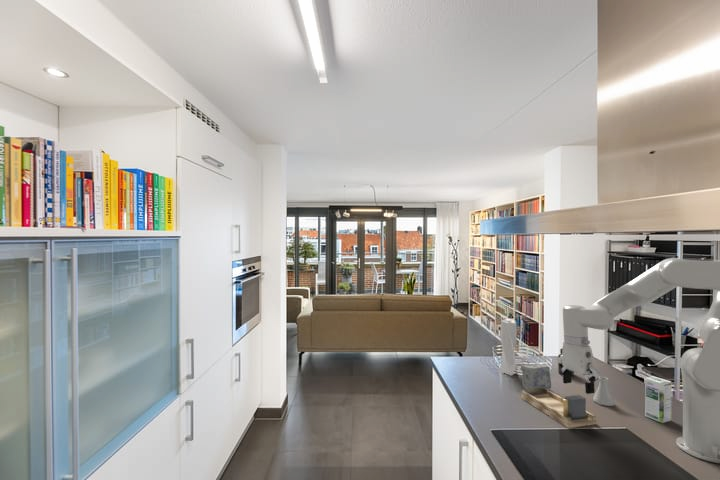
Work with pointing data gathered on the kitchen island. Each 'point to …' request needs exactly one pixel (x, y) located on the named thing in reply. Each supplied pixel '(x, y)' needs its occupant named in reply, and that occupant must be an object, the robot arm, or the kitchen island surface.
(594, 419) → the wooden tray
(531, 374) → the grey stone block
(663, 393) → the syrup box
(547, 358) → the kitchen island surface
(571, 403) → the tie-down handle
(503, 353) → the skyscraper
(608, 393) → the flask
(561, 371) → the supplement bottle
